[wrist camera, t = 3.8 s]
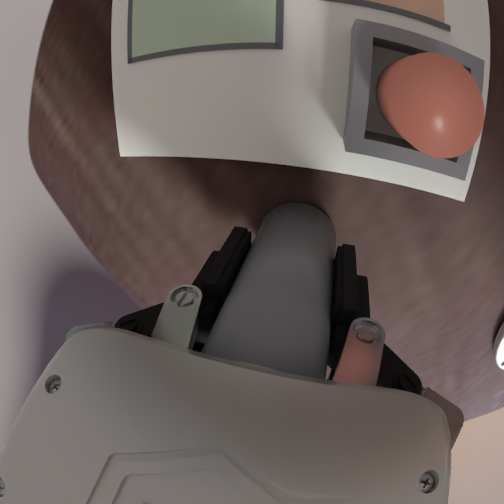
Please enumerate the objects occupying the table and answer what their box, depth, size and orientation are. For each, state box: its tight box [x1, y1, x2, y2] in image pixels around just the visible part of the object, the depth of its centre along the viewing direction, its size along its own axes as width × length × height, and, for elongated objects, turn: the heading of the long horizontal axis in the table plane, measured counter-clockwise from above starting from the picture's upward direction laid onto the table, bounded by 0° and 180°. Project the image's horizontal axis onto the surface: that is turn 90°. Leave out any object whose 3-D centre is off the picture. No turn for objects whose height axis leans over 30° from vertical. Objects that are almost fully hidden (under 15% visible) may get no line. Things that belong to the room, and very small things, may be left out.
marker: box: [201, 202, 336, 379], centre depth 10 cm, size 4×4×11 cm
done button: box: [376, 52, 485, 158], centre depth 6 cm, size 3×3×2 cm
